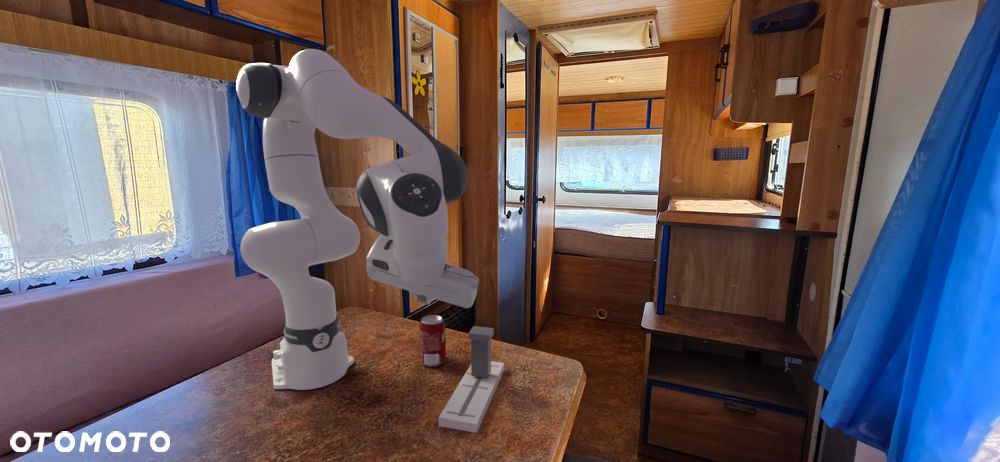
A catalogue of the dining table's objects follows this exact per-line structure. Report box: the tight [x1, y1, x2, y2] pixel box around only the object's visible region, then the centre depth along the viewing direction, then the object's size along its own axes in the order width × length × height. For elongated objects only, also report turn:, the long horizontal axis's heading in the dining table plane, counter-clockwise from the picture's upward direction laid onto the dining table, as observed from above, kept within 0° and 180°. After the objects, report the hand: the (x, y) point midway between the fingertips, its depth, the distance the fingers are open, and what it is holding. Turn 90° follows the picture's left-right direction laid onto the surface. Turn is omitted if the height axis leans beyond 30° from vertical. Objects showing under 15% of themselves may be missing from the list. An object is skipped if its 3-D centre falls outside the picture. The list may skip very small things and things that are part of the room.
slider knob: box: [468, 325, 495, 378], centre depth 93 cm, size 4×5×11 cm
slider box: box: [438, 360, 505, 434], centre depth 89 cm, size 24×8×2 cm, turn 167°
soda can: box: [418, 314, 447, 367], centre depth 103 cm, size 7×7×12 cm
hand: (423, 299), depth 77 cm, fingers closed
